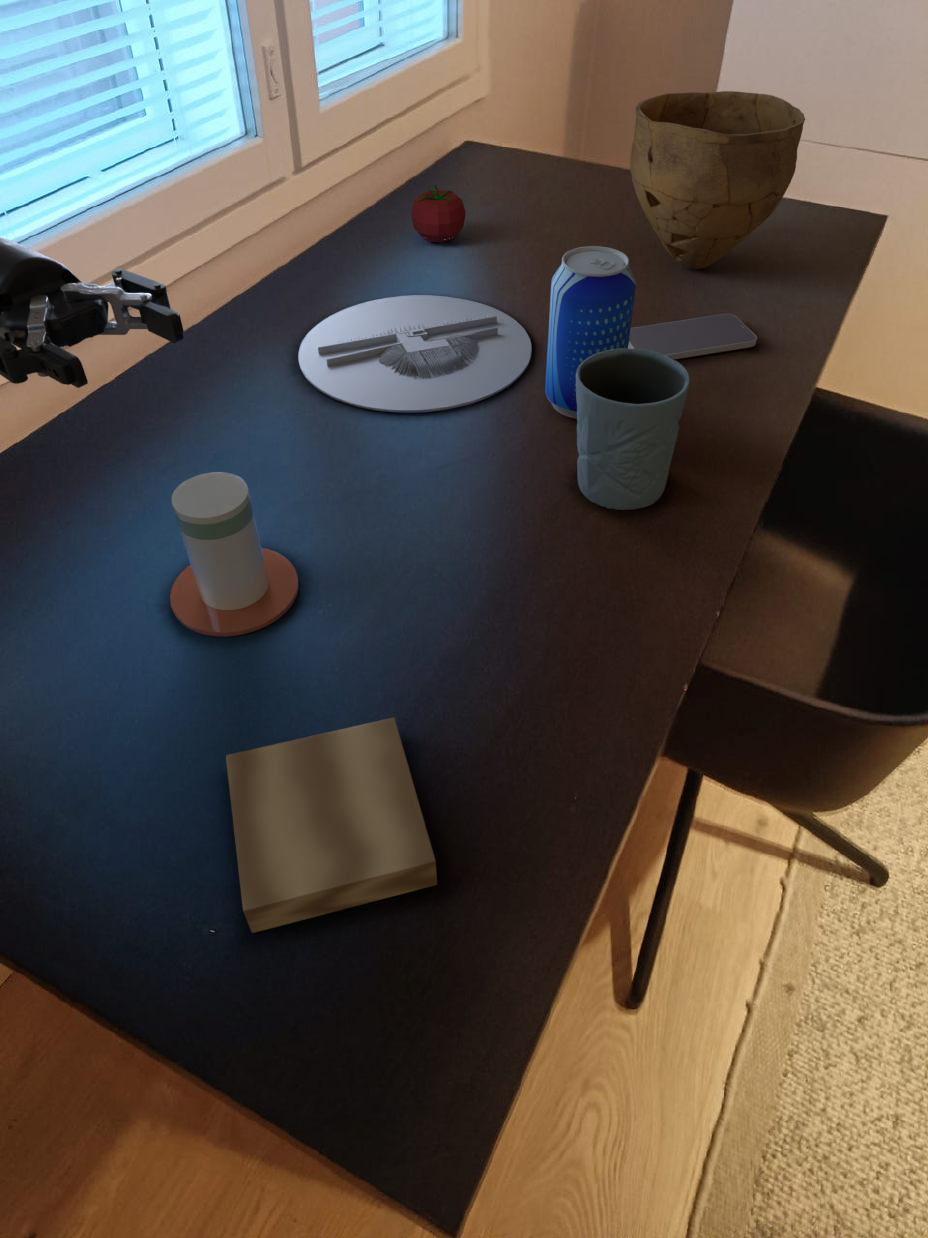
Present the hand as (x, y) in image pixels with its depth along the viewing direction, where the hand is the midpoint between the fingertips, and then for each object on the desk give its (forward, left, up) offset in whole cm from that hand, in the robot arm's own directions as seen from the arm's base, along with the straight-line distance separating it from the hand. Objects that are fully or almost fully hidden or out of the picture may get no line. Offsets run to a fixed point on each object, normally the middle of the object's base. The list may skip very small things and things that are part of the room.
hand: (131, 350), depth 66 cm
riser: (+7, -31, -21) cm, 38 cm away
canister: (+3, -5, -21) cm, 21 cm away
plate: (+28, +32, -21) cm, 48 cm away
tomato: (+39, +63, -21) cm, 77 cm away
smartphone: (+60, +24, -21) cm, 68 cm away
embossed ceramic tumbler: (+41, 0, -21) cm, 46 cm away
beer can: (+43, +15, -21) cm, 51 cm away
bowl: (+70, +43, -21) cm, 85 cm away
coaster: (+3, -5, -21) cm, 22 cm away
